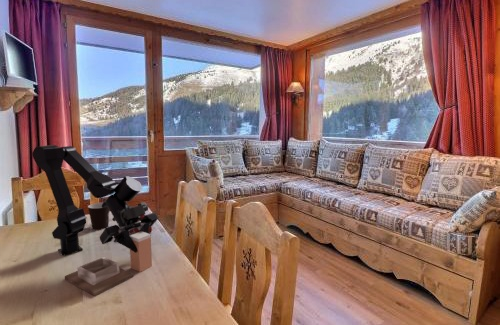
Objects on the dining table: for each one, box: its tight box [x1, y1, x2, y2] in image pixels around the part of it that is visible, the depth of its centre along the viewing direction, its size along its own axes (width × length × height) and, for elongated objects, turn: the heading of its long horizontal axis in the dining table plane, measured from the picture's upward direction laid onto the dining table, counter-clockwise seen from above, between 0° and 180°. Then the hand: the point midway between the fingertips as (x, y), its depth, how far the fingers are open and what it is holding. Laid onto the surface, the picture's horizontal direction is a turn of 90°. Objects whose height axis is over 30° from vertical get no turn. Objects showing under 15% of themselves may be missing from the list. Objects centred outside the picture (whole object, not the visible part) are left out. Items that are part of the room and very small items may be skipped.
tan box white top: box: [129, 231, 153, 273], centre depth 95 cm, size 5×5×11 cm
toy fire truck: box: [129, 214, 153, 235], centre depth 124 cm, size 7×12×10 cm, turn 40°
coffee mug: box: [87, 202, 110, 231], centre depth 131 cm, size 12×9×10 cm
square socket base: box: [64, 256, 134, 297], centre depth 89 cm, size 16×12×4 cm
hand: (143, 248), depth 94 cm, fingers closed on tan box white top, 5 cm apart
